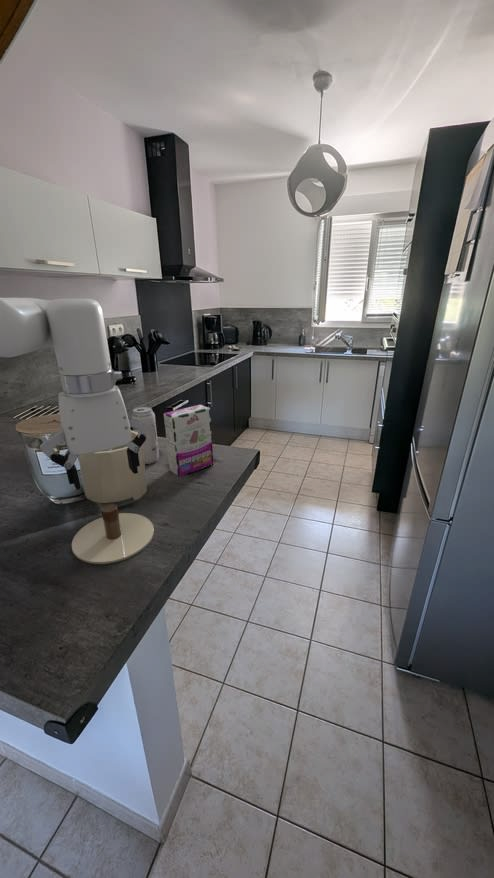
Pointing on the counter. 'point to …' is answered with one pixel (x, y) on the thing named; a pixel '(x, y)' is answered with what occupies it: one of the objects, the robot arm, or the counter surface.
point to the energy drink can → (151, 439)
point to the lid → (112, 537)
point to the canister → (112, 475)
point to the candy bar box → (189, 439)
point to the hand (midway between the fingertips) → (106, 478)
